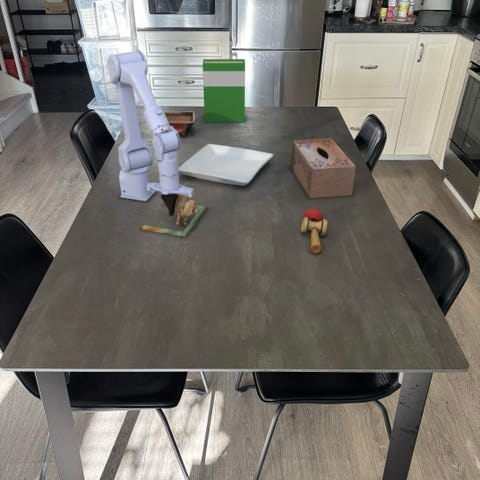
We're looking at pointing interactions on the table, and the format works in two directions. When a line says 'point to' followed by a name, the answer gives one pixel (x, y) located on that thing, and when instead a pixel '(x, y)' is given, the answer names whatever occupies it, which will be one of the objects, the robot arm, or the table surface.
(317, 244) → the kendama
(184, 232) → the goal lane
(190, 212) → the lion figurine
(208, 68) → the hardback book
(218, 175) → the square plate
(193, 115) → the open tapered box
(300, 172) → the tissue box cover
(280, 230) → the table surface
